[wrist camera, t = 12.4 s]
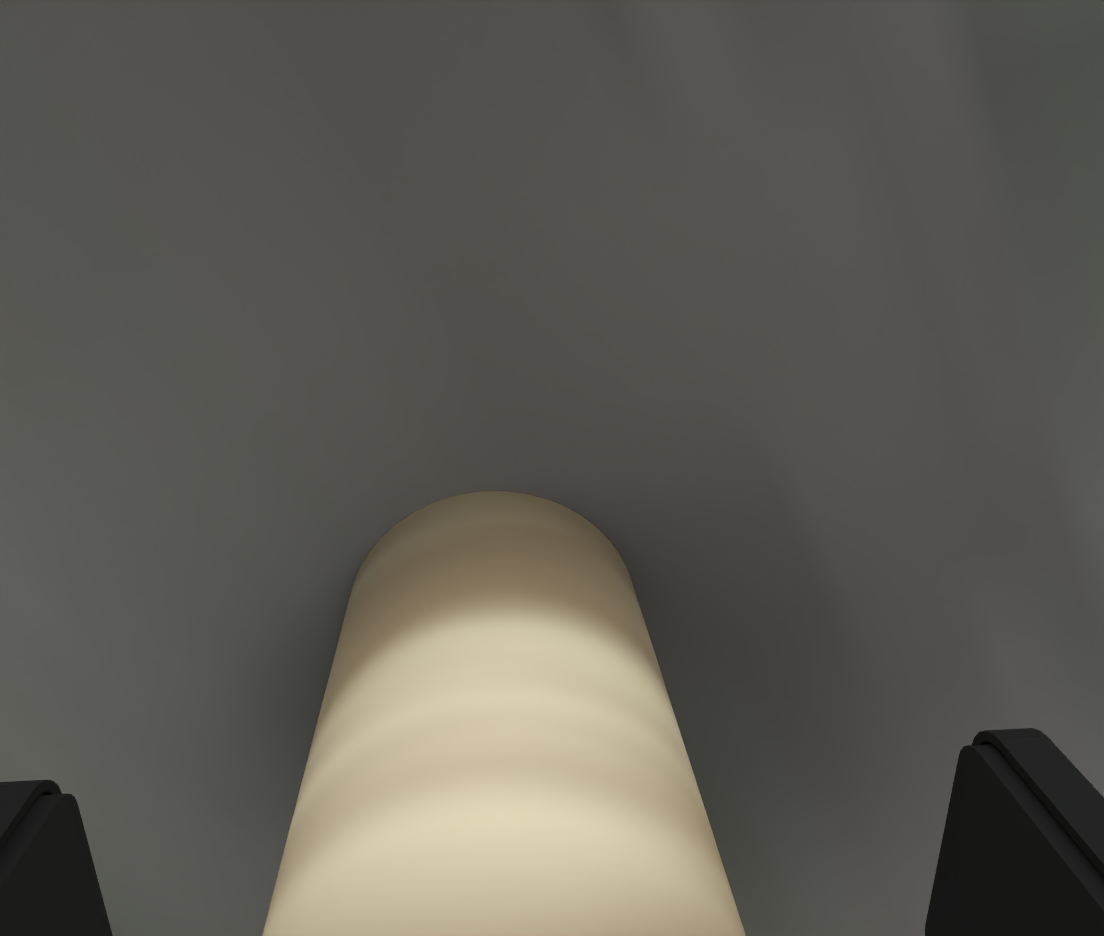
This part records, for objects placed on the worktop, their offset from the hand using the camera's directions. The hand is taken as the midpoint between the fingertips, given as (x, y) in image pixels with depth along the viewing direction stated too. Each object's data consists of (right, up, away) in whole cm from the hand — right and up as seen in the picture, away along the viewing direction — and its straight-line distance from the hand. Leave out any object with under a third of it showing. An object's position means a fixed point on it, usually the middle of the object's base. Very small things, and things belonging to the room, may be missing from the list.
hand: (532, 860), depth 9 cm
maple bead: (-1, +2, +3) cm, 4 cm away
